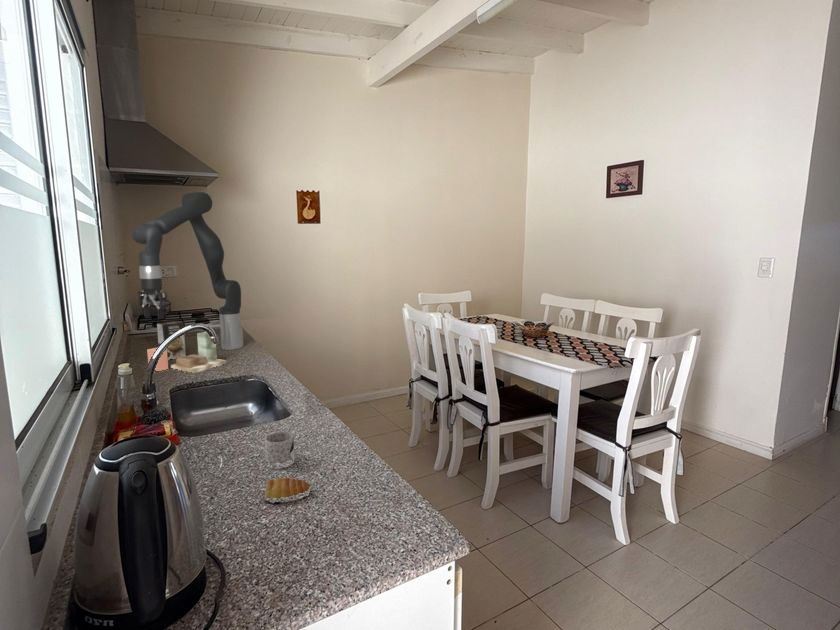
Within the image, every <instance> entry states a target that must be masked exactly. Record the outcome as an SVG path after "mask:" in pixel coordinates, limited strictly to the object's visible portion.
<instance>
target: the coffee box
mask: <svg viewBox="0 0 840 630" xmlns="http://www.w3.org/2000/svg"><path fill="white" fill-rule="evenodd" d="M156 328H157V342H158V343H157V345H158V346H159V345H160V344H161V343H162V342H163V341H164V340H165V339H166V338H167V337H169V336H170V335H171V334H173V333H174V332H176V331H178V330H179V329H182V328H184V329H185V327H184V321H178V320H177V321H176V320H175V321H166V322H159V323H158V322H157V323H156ZM185 340H186V339H185V334H184V335H182V336H180V337H179V338H177V339H176V340H174V341H173V342H172V343H171V344H170V345H169V346H168V348H167V358H168V361H171V360H170V359H173V360H176V358H181V357H185V356H187V355H186V354H187V353H186V341H185Z"/></svg>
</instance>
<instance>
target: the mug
mask: <svg viewBox="0 0 840 630" xmlns="http://www.w3.org/2000/svg"><path fill="white" fill-rule="evenodd" d="M294 438H295V437H294V434H293V433H292V432H289V431H276V432H272V433H270V434H267V435H266V436H265V437H264V448H265V452H264V453H265V461H266V460H267V461H268V462H270V463H283V462H287V461H289V460H291V459H292V458H293V457H294V458H295V441H294V440H295V439H294Z"/></svg>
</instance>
